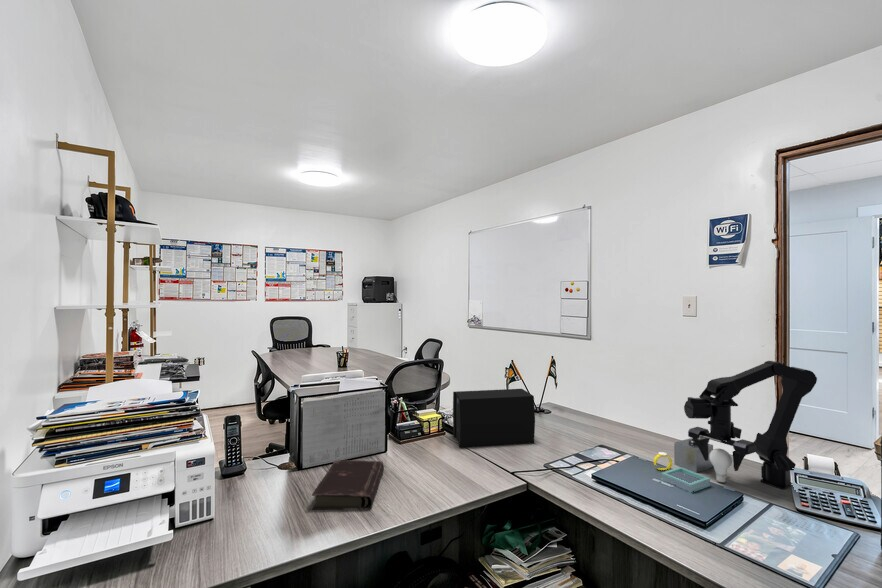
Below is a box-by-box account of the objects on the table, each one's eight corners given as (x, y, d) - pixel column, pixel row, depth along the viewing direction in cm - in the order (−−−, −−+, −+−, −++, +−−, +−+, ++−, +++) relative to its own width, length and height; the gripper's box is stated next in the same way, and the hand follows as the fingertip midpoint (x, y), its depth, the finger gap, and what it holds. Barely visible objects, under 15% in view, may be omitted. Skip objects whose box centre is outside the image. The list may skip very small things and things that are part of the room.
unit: (713, 467, 146) (713, 442, 146) (696, 472, 142) (696, 447, 142) (690, 458, 154) (690, 435, 154) (673, 464, 149) (673, 439, 149)
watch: (657, 472, 143) (655, 455, 143) (652, 469, 146) (651, 452, 146) (674, 471, 143) (672, 454, 143) (669, 467, 146) (668, 451, 146)
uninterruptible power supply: (453, 435, 181) (452, 390, 181) (524, 431, 186) (524, 387, 186) (460, 449, 165) (460, 400, 165) (538, 444, 170) (538, 396, 170)
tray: (710, 486, 132) (709, 478, 132) (691, 493, 127) (691, 485, 127) (680, 474, 141) (680, 466, 141) (661, 480, 136) (661, 472, 136)
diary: (384, 474, 144) (384, 460, 144) (372, 512, 119) (372, 495, 119) (331, 473, 144) (331, 459, 144) (308, 511, 119) (309, 494, 119)
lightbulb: (710, 484, 133) (710, 450, 133) (708, 476, 139) (708, 444, 139) (734, 488, 130) (733, 454, 130) (730, 480, 136) (730, 447, 136)
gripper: (766, 422, 130) (766, 471, 130) (705, 408, 147) (706, 451, 147) (746, 428, 125) (747, 478, 125) (686, 412, 142) (687, 457, 142)
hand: (720, 465), depth 135 cm, fingers open, 9 cm apart
